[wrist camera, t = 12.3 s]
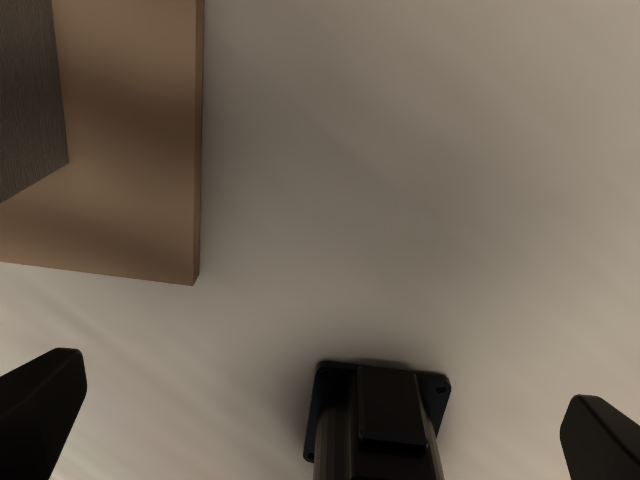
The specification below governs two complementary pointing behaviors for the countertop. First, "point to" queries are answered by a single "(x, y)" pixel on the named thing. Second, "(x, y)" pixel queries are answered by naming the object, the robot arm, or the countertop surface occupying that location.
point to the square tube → (29, 96)
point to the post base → (120, 146)
